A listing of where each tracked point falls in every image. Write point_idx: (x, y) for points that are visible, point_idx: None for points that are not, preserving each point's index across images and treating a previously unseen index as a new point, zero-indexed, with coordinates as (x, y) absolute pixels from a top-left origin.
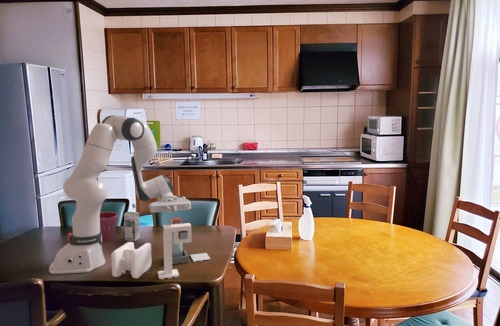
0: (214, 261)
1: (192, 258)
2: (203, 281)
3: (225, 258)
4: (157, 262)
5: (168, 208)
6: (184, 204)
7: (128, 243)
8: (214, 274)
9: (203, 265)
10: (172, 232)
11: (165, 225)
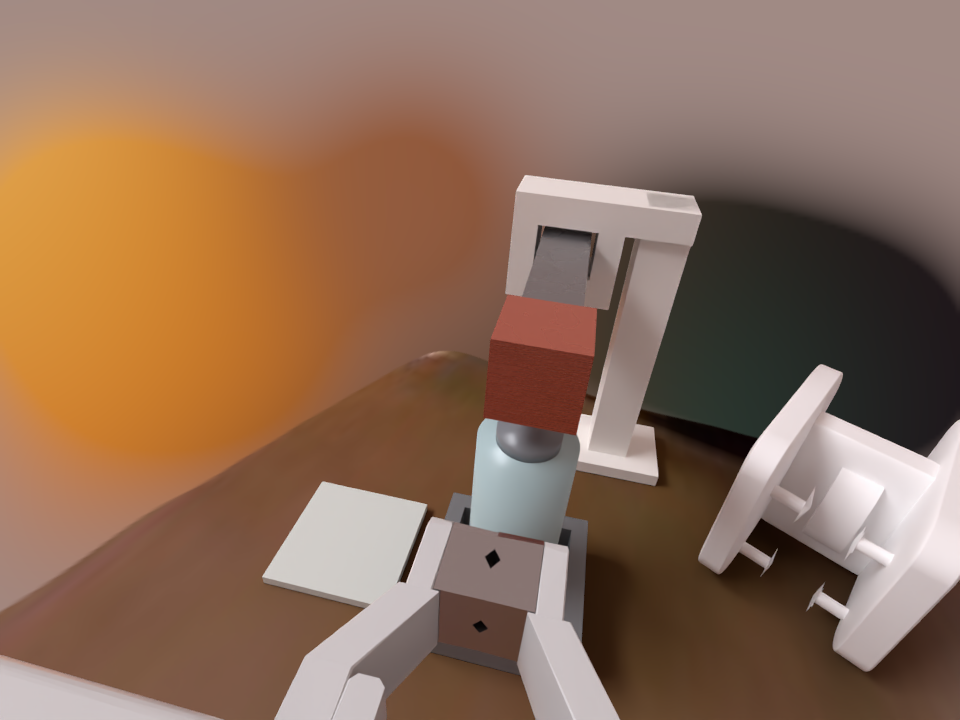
0: (318, 466)
1: (410, 539)
2: (483, 360)
3: (236, 467)
4: (647, 631)
5: (570, 641)
6: (1, 663)
7: (953, 504)
8: (415, 377)
9: (401, 456)
10: (562, 462)
11: (684, 211)
